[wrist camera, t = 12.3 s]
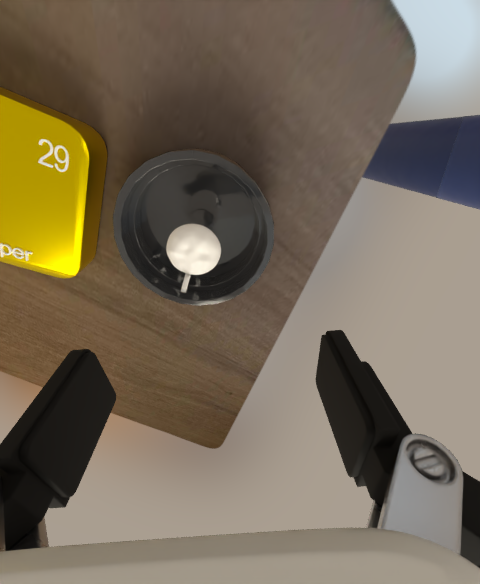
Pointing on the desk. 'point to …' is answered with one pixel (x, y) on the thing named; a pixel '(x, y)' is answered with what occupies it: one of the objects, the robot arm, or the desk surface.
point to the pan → (173, 211)
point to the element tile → (48, 187)
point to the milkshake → (194, 245)
